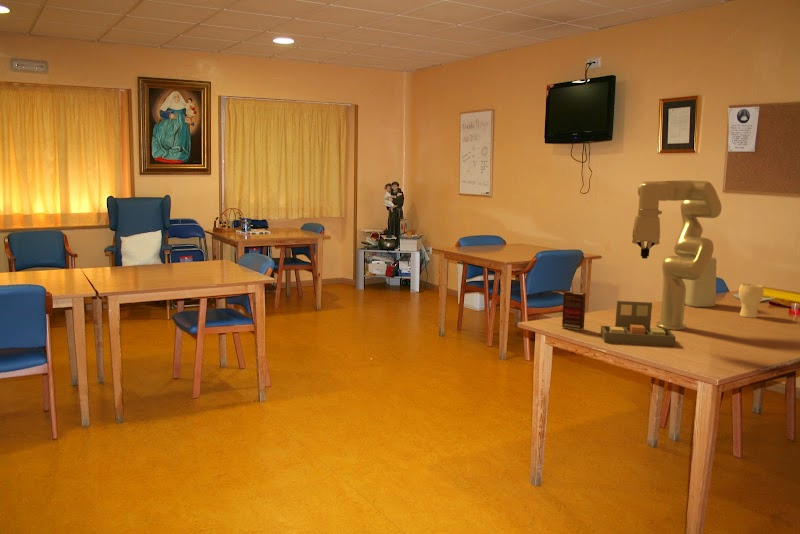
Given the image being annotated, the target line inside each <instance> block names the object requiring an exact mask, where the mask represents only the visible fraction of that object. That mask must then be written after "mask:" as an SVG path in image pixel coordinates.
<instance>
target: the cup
mask: <svg viewBox="0 0 800 534" xmlns="http://www.w3.org/2000/svg"><path fill="white" fill-rule="evenodd" d="M764 293H765V292H764V285H761V284H754V283H741V284H740V285H739V288H738V297H739V300H740V302H741V303H740V304H741V309H740V312H739V315H740V316H741V317H743V318H752V319H753V318H758V317H759V314H758V309H759V308H758V306H759V304H760V303H761V301H762V300H763V297H764Z"/></svg>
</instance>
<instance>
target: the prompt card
mask: <svg viewBox="0 0 800 534" xmlns="http://www.w3.org/2000/svg"><path fill="white" fill-rule="evenodd" d="M615 307H616V309H615V310H616V311H615V320H614V321H615V322H614V324H615V325H614V326H615V327H630V325H643V326H644V327H645V328H650V329H651V324H652V323H651V320H652V311H653V303H652V302H649V301H647V302H646V301H631V300H616V306H615Z"/></svg>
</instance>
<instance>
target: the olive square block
mask: <svg viewBox="0 0 800 534" xmlns="http://www.w3.org/2000/svg"><path fill="white" fill-rule="evenodd" d="M661 329H662V328H650V334H651V335H666V332H665V331H664V330H661Z"/></svg>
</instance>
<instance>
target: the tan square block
mask: <svg viewBox="0 0 800 534" xmlns="http://www.w3.org/2000/svg"><path fill="white" fill-rule="evenodd" d="M609 332H612V333H624V329H623V327H610V331H609Z"/></svg>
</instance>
